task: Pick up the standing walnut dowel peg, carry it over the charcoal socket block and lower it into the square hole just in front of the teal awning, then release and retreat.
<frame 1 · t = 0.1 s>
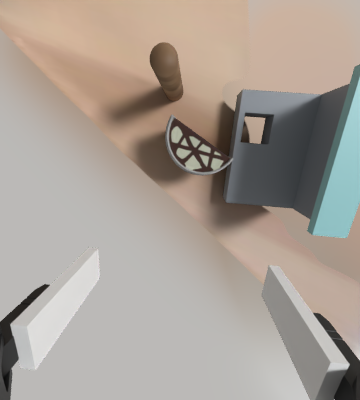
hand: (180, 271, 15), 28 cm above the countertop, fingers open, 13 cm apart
peg: (174, 91, 36), on the countertop
food container: (191, 152, 39), on the countertop
socket: (264, 152, 38), on the countertop
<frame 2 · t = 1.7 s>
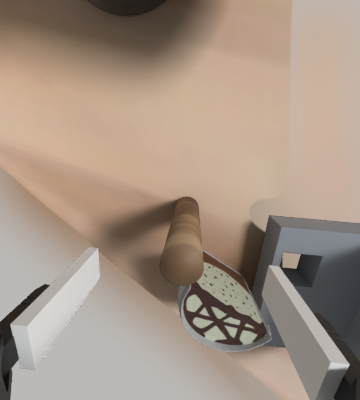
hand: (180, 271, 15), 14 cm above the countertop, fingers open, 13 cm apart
peg: (186, 207, 28), on the countertop
food container: (208, 272, 31), on the countertop
socket: (300, 277, 30), on the countertop
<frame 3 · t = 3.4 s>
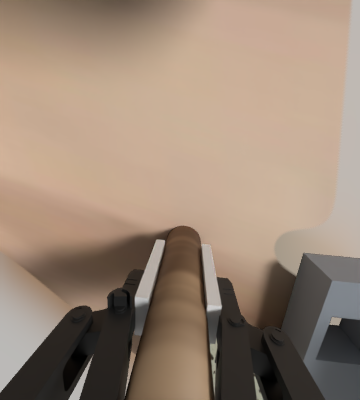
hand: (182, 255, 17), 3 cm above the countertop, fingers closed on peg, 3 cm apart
peg: (183, 241, 19), on the countertop, touching gripper
socket: (343, 336, 21), on the countertop
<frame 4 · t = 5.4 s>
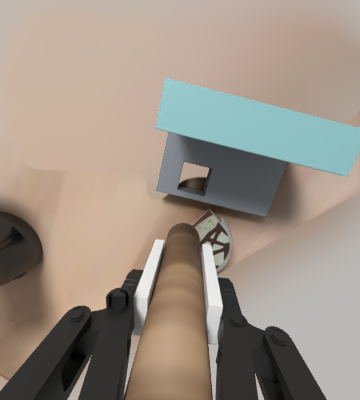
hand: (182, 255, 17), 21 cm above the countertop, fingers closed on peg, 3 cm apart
peg: (183, 238, 20), point 18 cm above the countertop, touching gripper
food container: (203, 232, 40), on the countertop
socket: (219, 162, 35), on the countertop
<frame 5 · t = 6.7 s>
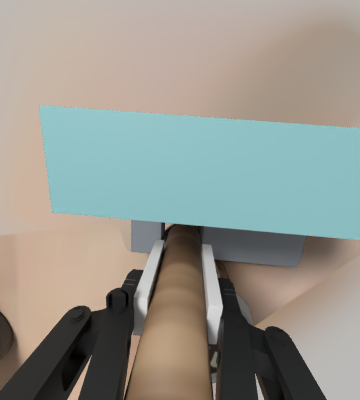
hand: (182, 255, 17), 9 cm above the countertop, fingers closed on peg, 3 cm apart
peg: (183, 237, 20), point 6 cm above the countertop, touching gripper
food container: (210, 287, 29), on the countertop
socket: (216, 195, 25), on the countertop
when the fingers open (5 cm above the countertop, at t = 7.8 s): peg drops 2 cm, resting in socket.
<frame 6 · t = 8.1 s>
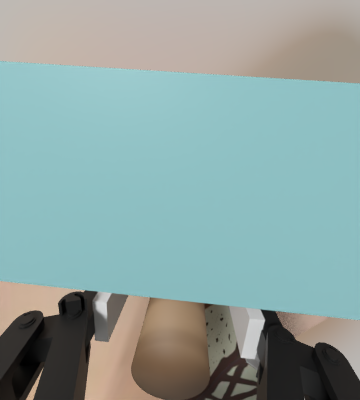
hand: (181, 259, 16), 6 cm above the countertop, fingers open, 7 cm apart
peg: (184, 231, 22), resting in socket
food container: (215, 310, 25), on the countertop
socket: (223, 204, 20), on the countertop
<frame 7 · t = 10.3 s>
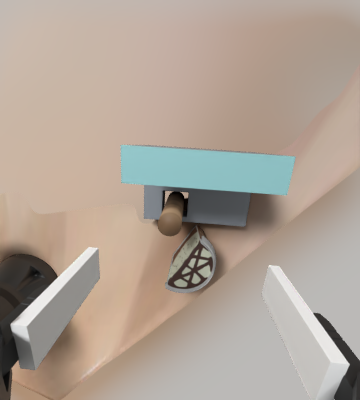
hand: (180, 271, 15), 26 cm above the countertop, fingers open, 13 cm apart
peg: (176, 198, 40), resting in socket
food container: (195, 246, 43), on the countertop
socket: (196, 183, 39), on the countertop
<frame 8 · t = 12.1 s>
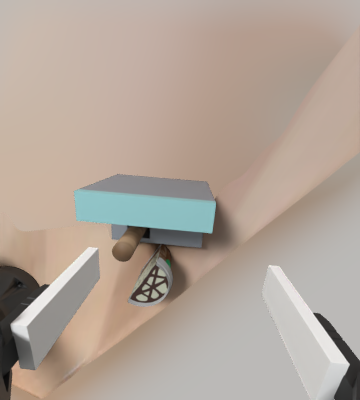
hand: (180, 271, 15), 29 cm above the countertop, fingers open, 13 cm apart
peg: (143, 220, 45), resting in socket
food container: (161, 262, 48), on the countertop
socket: (160, 207, 44), on the countertop
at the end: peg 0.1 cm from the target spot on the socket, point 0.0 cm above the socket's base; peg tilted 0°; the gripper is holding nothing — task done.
